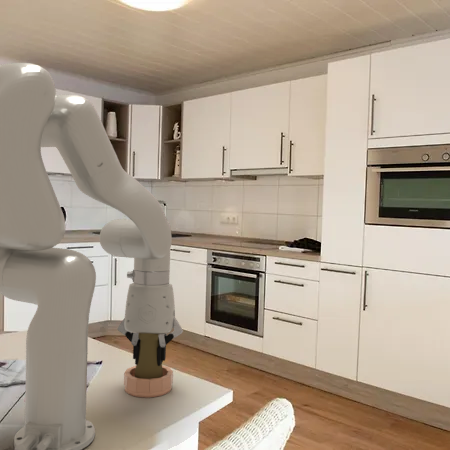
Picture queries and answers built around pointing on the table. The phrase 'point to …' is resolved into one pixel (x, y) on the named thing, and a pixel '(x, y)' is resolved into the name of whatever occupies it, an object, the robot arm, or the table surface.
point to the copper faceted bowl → (148, 384)
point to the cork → (148, 357)
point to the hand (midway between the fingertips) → (149, 362)
